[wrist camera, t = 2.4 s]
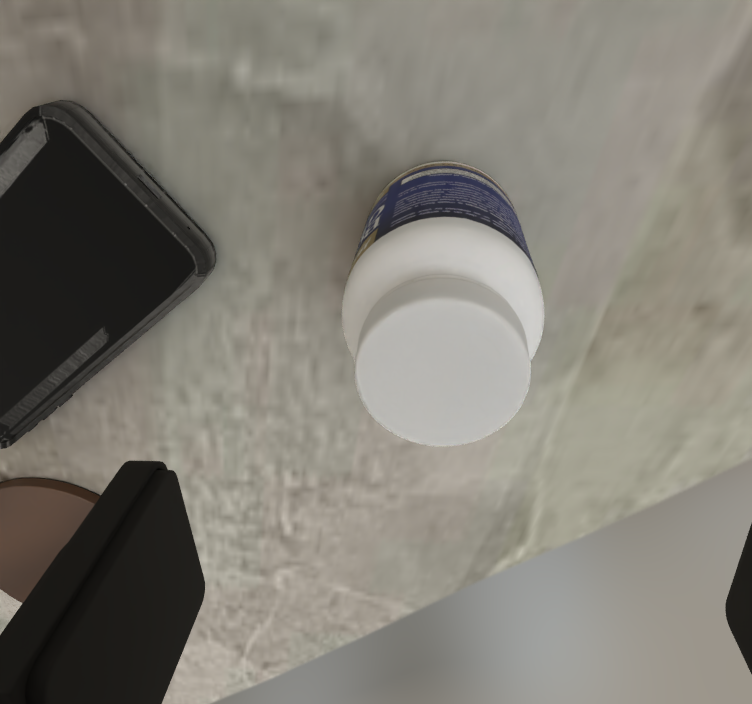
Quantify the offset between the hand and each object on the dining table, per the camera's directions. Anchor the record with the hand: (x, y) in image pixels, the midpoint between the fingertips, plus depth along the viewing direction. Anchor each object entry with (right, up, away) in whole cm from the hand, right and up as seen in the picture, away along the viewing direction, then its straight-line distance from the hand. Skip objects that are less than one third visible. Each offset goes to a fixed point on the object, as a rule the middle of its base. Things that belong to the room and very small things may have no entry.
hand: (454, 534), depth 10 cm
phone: (-15, +5, +15) cm, 22 cm away
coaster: (-18, -8, +22) cm, 30 cm away
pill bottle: (+1, +7, +12) cm, 14 cm away
